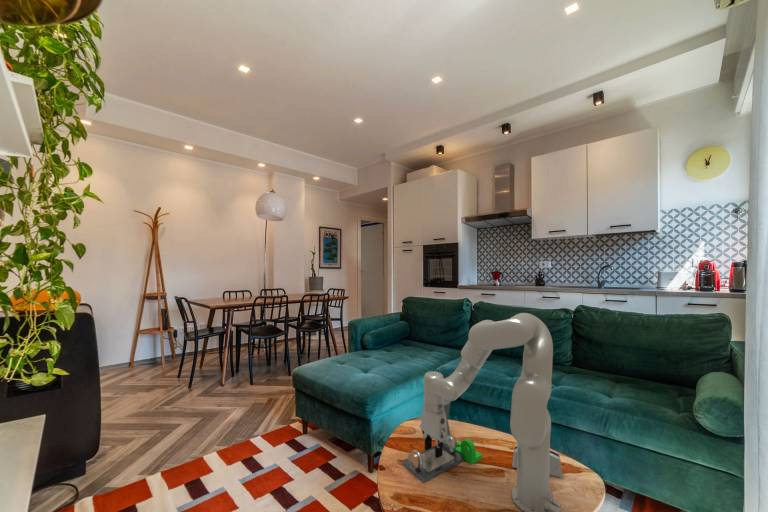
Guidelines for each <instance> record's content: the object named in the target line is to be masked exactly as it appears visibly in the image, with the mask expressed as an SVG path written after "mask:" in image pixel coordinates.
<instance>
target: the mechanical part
mask: <svg viewBox="0 0 768 512" xmlns="http://www.w3.org/2000/svg"><path fill="white" fill-rule="evenodd" d="M457 444H458V446H457V448H456V449H455V450H456V452H457V453H459V454H460V455H462V456H463V457H464V461H465V462H467V463H469V464H470V465H474V464H475V463H477V462H479V461H480V460H482V459H483V454H482V453H480V452H479V451H477V450H476V446H475V443H474V442H473V441H472V440H471V439H470V438H465V439H463V440H462V441H457Z"/></svg>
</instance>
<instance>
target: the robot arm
mask: <svg viewBox="0 0 768 512" xmlns="http://www.w3.org/2000/svg"><path fill="white" fill-rule="evenodd" d="M467 339H468V340H466V342H465V344H464V345H463V348H462V349H461V351H460V356H461V360H460V362H459V363H458V365H457V366H456V368H455V370H454V371H453V373H451V374H450V375H449V376H447V377H445V378H444V375H443V374H442V373H441V372H439V371H433V370H432V371H427V372H426V373H425V374H424V375H423V406H422V410H421V411H422V412H421V422H420V424H419V427H420V429H421V432H422V435H423V439H424V451H425V450H428V449H431V448H432V447H433V446H432V445H433V444H432V443H433V442H432V441H433V440H432V439H434V440H435V445H436V447H435V458H438V457H440V456H442V446H444V445H445V444H447V443H449V441H448V439H447V420H448V419H447V420H446V414H445V411H444V410H445V408H444V399H445V400H447V401H450V402H453V401H456V400H457V399H458V398H460V397H461V395H462V394H464V393H465V392H466V391H467V389H468V388H469V387H470V385H471V384H472V383H473V381H474V380H475V379H476V376H477V375H478V374H479V372H480V370H481V369H482V367H483V365H484V364H485V362H486V360H487V359H488V357H489V356H490V355H491V353H492V352H493V351H494V350H502V349H509V348H510V349H511V348H517V347H522V346H524V347H523V354H522V367H521V373H520V376H519V378H518V379H517V380H516V381H515V384H514V387H513V389H512V394H511V407H510V419H509V421H510V422H509V423H510V424H509V428H510V431H511V435H512V437H513V438H514V441H516V445H517V468H516V486H514V487H513V488H512V490H511V498H512V502H513V503H514V504H515V505H516V506H517V507H518V508H519V509H520V510H521V511H523V512H563V511H562V504H561V503H559V502H557V501H556V500H555V499H554V493H553V492H552V491H550V482H551V481H550V476H551V475H550V449H551V430H552V420H551V419H552V418H551V414H550V412H549V410H548V403H549V402H548V401H549V400H550V396H551V394H552V377H553V376H552V375H553V374H552V373H553V360H554V359H553V358H554V343H553V338H552V334H551V332H550V331H549V328H548V327H547V325H546V324H545V323H544V322H543V321H542V320H541V319H540V318H538V317H537V316H536V315H533V314H531V313H528V312H520V313H517V314H515V315H513V316H512V317H510V318H507V319H503V320H499V321H495V320H491V319H485V320H481V321H478V323H475V324H474V325H473V326H471V328H470V329H469V331H468V338H467Z"/></svg>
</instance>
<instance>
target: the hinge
mask: <svg viewBox="0 0 768 512" xmlns="http://www.w3.org/2000/svg"><path fill="white" fill-rule="evenodd" d="M511 462H512V465H511V466H512V468H514V469H517V444H515V445H514V449H513V455H512V461H511ZM562 469H563V467H562V462H561V456H560V454H559V452H557V451H556V450H554V449H552V448H550V476H552V477H557V478H561V479H562V478H563V476H564V475H563V470H562Z"/></svg>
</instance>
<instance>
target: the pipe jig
mask: <svg viewBox="0 0 768 512" xmlns="http://www.w3.org/2000/svg"><path fill="white" fill-rule="evenodd" d="M447 439H448V441H449V443H447V444H445V445H444V446H442V456H440V457H438V458H435V447H436V444H435V445H433V446H432V448H431V449H428V450H425V449H424V450H421V451H419V450H418V449H413V450H412V451H411V452H410V453H409V454H408V457H406V458H405V459H404V460H402V466H404V468H406V470H407V471H409V472H410V473H412V474H413V475H414V476H415V477H416V478H417V479H418V480H420V481H421V482H422V483H426V482H428V481H430V480H431V479H434V478H435V477H437V476H439V475H441V474H443V473H445V472H446V471H448V470H451V469H452V468H454V467H456V466H458V465H460V464H461V463H463V462H465V460H464V457H463V456H462V455H460V454H459V453H457V452H456V450H455V449H456V448H457V446H458V444H457V442H458V440H457V439H456V437H455V436H454V435H452V434H450V435H447Z"/></svg>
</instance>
